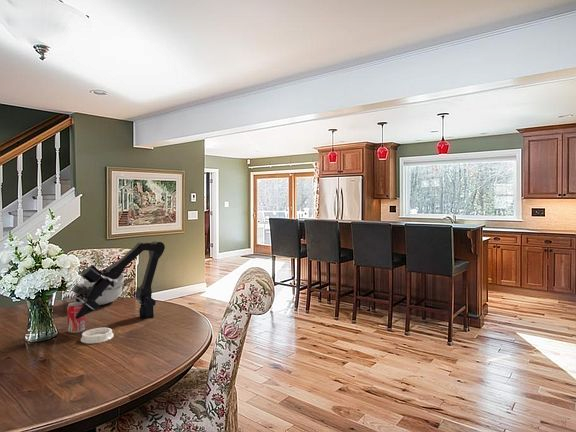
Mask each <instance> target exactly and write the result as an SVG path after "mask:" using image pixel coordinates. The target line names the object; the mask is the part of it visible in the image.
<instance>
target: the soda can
mask: <svg viewBox="0 0 576 432" xmlns="http://www.w3.org/2000/svg"><path fill="white" fill-rule="evenodd" d="M82 303H83V302H75V301H74V302H70V303H68V304H67V305H68V306H67V307H66V310H67V312H66V314H67V331H68V332H69V333H70V334H78V333H83V332H85V329H86V315H84V316H82V317H80V318H78V319H76V318H75V317H76V315H77V314H78V312H79V311H80V310H81V308H82Z"/></svg>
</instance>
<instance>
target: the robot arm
mask: <svg viewBox="0 0 576 432" xmlns="http://www.w3.org/2000/svg"><path fill="white" fill-rule="evenodd" d="M165 249H166V245H165V244H164V243H163V242H162V241H158V240H153V241H152V242H137V243H136V244H135V246H133V247H132V248H131V249H130V250H129V251H128V252H127V253H125V254H124V256H123V257H121V258H119V260H118V261H116V262H114V263H112V264H110V265H109V266H107V267H106V268H105V269H102V270H99V269H98V268H97V267H96V266H95V265H94V264H91V265H90V266H88V267H86V269H85V268H84V269H83V271H82V272H81V274H80V276H81V278H83V279H86V280H87V281H89V282H90V283H92V282H94V283H95V284H94V285H93V286H92V287H91V286H89V287H88V288H87V287H86V286H82V287H81V286H78V285H76V286H75V288H74V290H73V291H72V292H73V293H74V292H75V293H77V294H76V295H75V294H74V296H75V297H74V302H83V303H82V308H81V310H80V311H79V312H78V314H77V315H76V317H75V318H76V319H78V318H80V317H82V316H84V315H85V316H86V315H88V314H90V313H93V312H95V311H97V310H98V309H100V305H99V304H98V303H96V300H97V299H98V297H99V296H102V293H103V292H104V291H105V290H106V288H107V287H108V286H109V285H110V286H112V287H114V281H110V280H109V279H108V278H110V279H117V278H119V276H120V275H121V274H123V272H125V271H124V270H125V269H126V267H127V266H129V264H131V263H132V262H133V261H134V260H135V259H136V258H138V256H139V255H140V254H141V253H142V252H143V251H144V252H145V251H148V261H147V265H146V269H145V271H144V275H143V279H142V282H141V285H140V286H136V289H135V292H134V295H135V300H136V301H137V302H138V304H139V305H140V307H139V308H138V309H139V317H140V318H139V319H149V318H154V317H155V306H156V303H157V302H156V300H155V299H154V298H153V297H152V294H153V291H152V284H153V281H154V276H155V273H156V270H157V267H158V262H159V259H160V258H161V257H162V255H163V254H164V252H165ZM103 276H105V277H108V278H103ZM76 297H77V298H76Z"/></svg>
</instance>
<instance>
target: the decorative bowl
mask: <svg viewBox="0 0 576 432" xmlns="http://www.w3.org/2000/svg"><path fill="white" fill-rule="evenodd" d="M102 277H103V278H108V277H105V276H102ZM80 278H81V280H80V282H78V283H77V284H76V285H78V286H81V287H82V286H86V287H87V288H88V287H89V286H91V287H92V286H93V285H94V284H95V283H94V282H92V283H90V282H89V281H87V280H86V279H85V278H84V277H80ZM108 279H109V280H110V281H114V287H112V286H110V285H109V286H108V287H107V288H106V290H105V291H104V292H103V293H102V296H99V297H98V299H97V300H96V303H98V304H99V306H103V305H106V304H109V303H112V302H114V301H115V300H117V299H118V298H119V296H120V295H121V294H122V291H123V290H122V289H123V285H124V281H125V280H124V279H125V276H124V274H123V273H122V274H121V275H120V276H119V278H117V279H110V278H108ZM76 285H75V286H76ZM75 286H74V287H73V288H72V289H71V290H74V288H75ZM73 294H74V296H75V295H76V294H77V293H75V292H73ZM75 298H77V297H75Z"/></svg>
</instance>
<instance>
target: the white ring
mask: <svg viewBox="0 0 576 432" xmlns="http://www.w3.org/2000/svg"><path fill="white" fill-rule="evenodd" d="M113 338H114V333H113V329H112V328H109V327H96V328H95V327H94V328H90V329H87V330H86V331H85V330H84V331H82V333H81V338H80V342H81V343H83V344H93V345H94V344H99V343H104V342H107V341H110V340H112V339H113Z"/></svg>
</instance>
